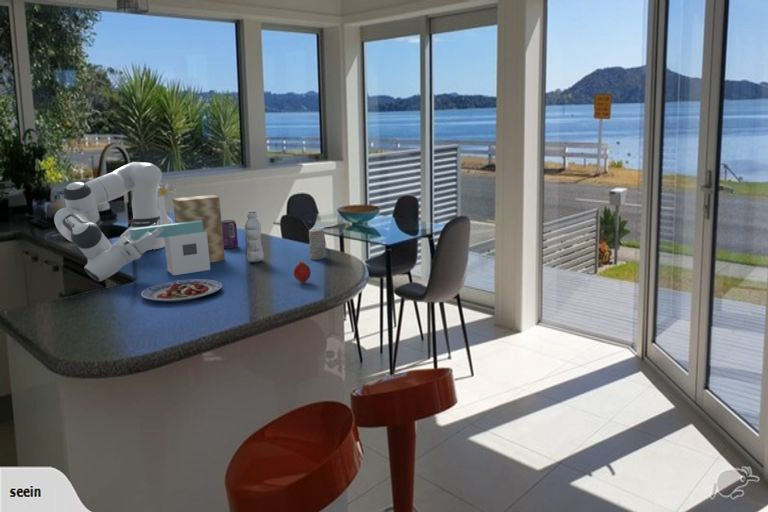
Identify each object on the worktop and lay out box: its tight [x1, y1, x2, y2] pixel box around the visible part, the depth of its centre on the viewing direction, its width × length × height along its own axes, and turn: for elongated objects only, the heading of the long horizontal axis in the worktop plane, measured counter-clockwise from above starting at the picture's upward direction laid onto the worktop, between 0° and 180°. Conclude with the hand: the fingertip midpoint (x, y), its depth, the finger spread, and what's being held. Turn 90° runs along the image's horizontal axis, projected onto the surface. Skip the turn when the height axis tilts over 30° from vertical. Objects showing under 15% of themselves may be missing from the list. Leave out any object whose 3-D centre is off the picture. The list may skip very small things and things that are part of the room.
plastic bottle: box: [244, 211, 265, 263], centre depth 263 cm, size 6×7×20 cm
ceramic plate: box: [141, 278, 223, 303], centre depth 220 cm, size 26×26×3 cm
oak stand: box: [172, 194, 226, 263], centre depth 269 cm, size 16×10×26 cm, turn 121°
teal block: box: [130, 220, 204, 240], centre depth 249 cm, size 26×4×4 cm, turn 123°
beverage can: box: [221, 219, 239, 249], centre depth 297 cm, size 7×7×12 cm
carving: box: [308, 228, 326, 261], centre depth 266 cm, size 6×8×12 cm
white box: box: [163, 232, 211, 276], centre depth 254 cm, size 14×9×14 cm, turn 121°
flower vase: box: [157, 181, 178, 225], centre depth 351 cm, size 13×18×25 cm
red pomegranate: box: [293, 260, 311, 284], centre depth 228 cm, size 6×6×8 cm
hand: (159, 226), depth 247 cm, fingers open, 8 cm apart
